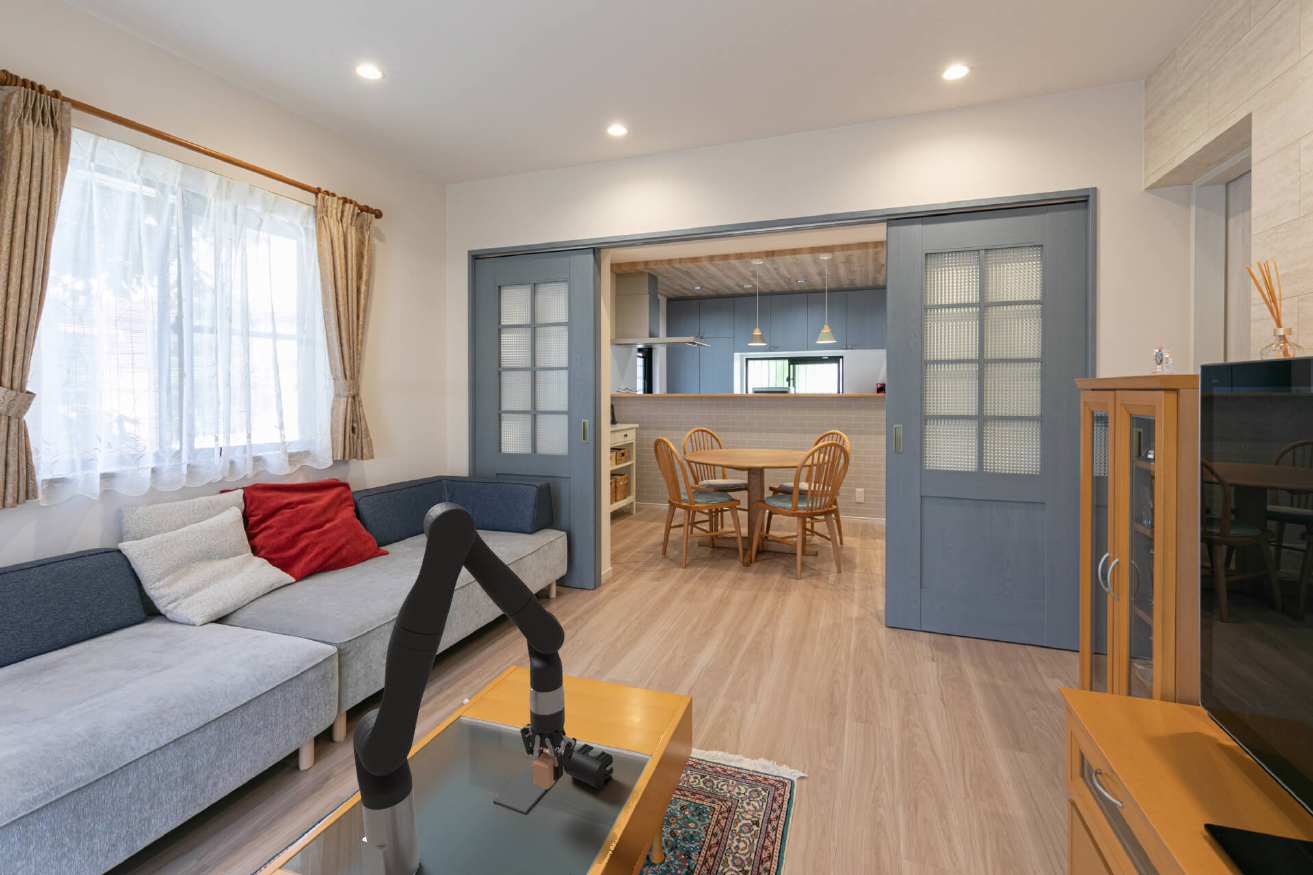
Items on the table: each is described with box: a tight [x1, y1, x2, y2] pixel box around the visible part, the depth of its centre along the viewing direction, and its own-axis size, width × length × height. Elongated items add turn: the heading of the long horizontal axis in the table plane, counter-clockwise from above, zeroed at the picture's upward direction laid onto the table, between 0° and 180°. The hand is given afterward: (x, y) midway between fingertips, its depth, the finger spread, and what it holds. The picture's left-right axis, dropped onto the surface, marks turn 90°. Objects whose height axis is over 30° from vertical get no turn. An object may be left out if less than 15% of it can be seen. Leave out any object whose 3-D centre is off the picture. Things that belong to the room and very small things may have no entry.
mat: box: [492, 767, 548, 815], centre depth 145 cm, size 12×9×1 cm
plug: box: [531, 749, 564, 790], centre depth 138 cm, size 9×4×5 cm, turn 154°
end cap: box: [563, 743, 614, 791], centre depth 147 cm, size 10×7×7 cm
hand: (549, 775), depth 138 cm, fingers closed on plug, 4 cm apart
